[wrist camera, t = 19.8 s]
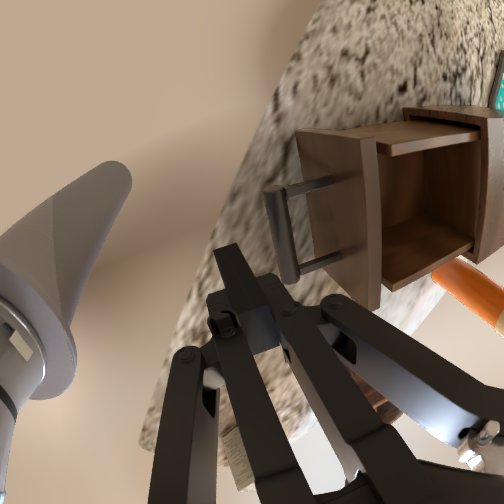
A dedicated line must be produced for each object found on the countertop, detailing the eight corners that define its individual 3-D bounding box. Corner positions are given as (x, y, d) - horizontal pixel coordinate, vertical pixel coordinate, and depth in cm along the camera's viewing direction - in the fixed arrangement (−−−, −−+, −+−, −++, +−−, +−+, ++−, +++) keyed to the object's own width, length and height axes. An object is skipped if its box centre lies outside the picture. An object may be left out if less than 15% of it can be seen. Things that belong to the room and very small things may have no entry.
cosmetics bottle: (241, 442, 40) (258, 492, 32) (220, 438, 38) (235, 492, 30) (261, 426, 40) (282, 479, 31) (240, 422, 38) (260, 479, 29)
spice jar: (426, 282, 36) (500, 342, 23) (439, 249, 34) (520, 304, 21) (444, 282, 38) (511, 336, 25) (456, 252, 36) (529, 301, 23)
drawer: (267, 279, 27) (307, 341, 19) (235, 144, 21) (275, 157, 13) (421, 220, 30) (478, 251, 22) (417, 112, 24) (485, 123, 16)
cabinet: (409, 225, 30) (477, 265, 21) (402, 107, 24) (487, 117, 15) (475, 197, 33) (531, 222, 23) (474, 105, 26) (538, 118, 17)
